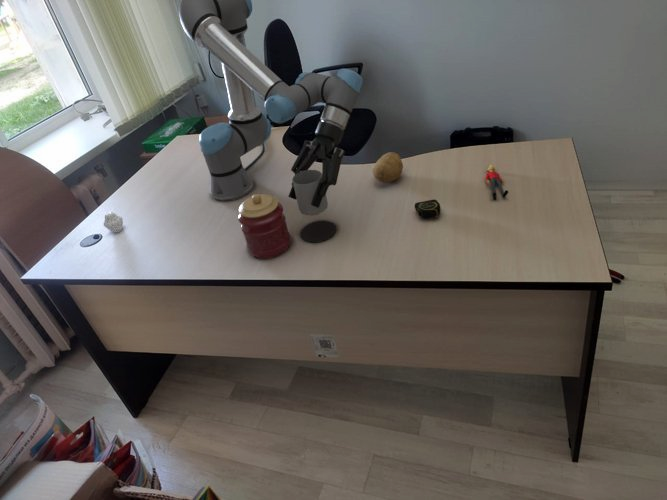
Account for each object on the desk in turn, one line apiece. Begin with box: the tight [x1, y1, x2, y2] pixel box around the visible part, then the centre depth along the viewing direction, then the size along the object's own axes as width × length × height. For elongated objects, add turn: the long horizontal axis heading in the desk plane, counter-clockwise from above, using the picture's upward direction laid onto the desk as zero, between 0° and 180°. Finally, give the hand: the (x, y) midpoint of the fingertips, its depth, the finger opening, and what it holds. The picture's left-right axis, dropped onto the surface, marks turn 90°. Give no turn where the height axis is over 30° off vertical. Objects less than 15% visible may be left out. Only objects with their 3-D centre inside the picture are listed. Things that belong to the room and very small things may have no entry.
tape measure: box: [414, 199, 441, 220], centre depth 140 cm, size 7×7×4 cm
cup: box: [291, 169, 329, 217], centre depth 135 cm, size 8×8×10 cm
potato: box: [371, 151, 404, 184], centre depth 159 cm, size 10×14×8 cm
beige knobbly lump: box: [103, 211, 124, 234], centre depth 160 cm, size 6×6×7 cm
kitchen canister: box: [237, 193, 292, 260], centre depth 136 cm, size 13×13×18 cm
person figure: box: [485, 164, 509, 201], centre depth 147 cm, size 5×4×18 cm
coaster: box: [300, 220, 338, 244], centre depth 143 cm, size 11×11×1 cm
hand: (303, 202), depth 134 cm, fingers closed on cup, 8 cm apart
